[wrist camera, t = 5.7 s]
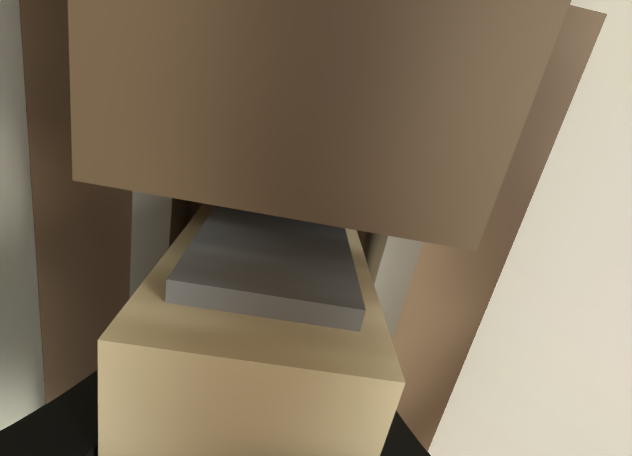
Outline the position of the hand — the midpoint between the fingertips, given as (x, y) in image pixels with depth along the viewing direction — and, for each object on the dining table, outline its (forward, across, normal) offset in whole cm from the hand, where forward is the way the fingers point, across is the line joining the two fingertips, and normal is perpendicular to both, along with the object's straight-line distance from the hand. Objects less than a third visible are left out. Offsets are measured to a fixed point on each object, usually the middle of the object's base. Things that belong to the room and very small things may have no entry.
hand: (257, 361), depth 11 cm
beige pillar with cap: (+3, 0, 0) cm, 3 cm away
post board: (+5, 0, +4) cm, 6 cm away
